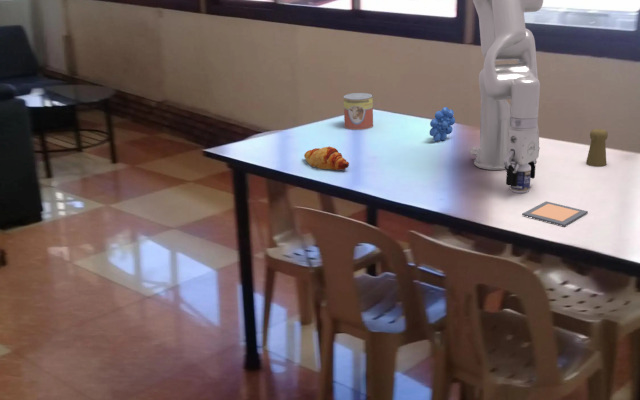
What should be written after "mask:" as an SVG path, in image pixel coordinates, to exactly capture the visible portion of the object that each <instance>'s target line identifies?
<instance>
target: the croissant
mask: <svg viewBox="0 0 640 400" xmlns="http://www.w3.org/2000/svg"><path fill="white" fill-rule="evenodd" d="M303 156H304V159H305V161H306V162H307V164H308V165H310V166H311V167H313V168H316V167H317V169H319V170H330V169H331V170H333V171H342V170H345V169H347V168H349V166H350V162H349V161H347V159H345V158H344V157H343V155H342V153H341V152H339V150H338V149H337V148H335V147H332V146H324V147H320V148H319V147H318V148H312V149H309V150H307V151H305V153H304V154H303Z"/></svg>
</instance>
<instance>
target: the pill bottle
mask: <svg viewBox="0 0 640 400" xmlns="http://www.w3.org/2000/svg"><path fill="white" fill-rule="evenodd" d="M514 162H516V161H514ZM514 166H515V165H512V167H513V168H514ZM516 173H518V178H517V186H516V187H514V186H510V191H512V193H513V192H514V193H517V194H518V193H519V194H520V193H521V194H522V193H523V194H524V193H528V192H530V190H531V179H532V178H531V166H530V165H529V164H528V163H527V164H525V165H519V167H518V169H517V172H516Z"/></svg>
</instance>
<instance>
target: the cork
mask: <svg viewBox="0 0 640 400" xmlns="http://www.w3.org/2000/svg"><path fill="white" fill-rule="evenodd" d="M608 137H609V135H608V131H607V130H606V129H604V128H603V129H602V128H594V129H592V130H591V131H590V133H589V138H590V140H591V141H590V144H589V148H588V149H589V150H588V154H587V157H586V162H585V164H586V165H587V166H590V167H598V168H599V167H605V166H607V147H606V144H607V143H606V140H607V139H608Z"/></svg>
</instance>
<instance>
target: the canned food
mask: <svg viewBox="0 0 640 400" xmlns="http://www.w3.org/2000/svg"><path fill="white" fill-rule="evenodd" d="M342 98H343V115H344V116H343V117H344V118H343V119H344V122H343V123H344V128H345V129H346V130H351V131H364V130H368V129H372V128H374V111H373V110H374V105H373V104H374V103H373V100H374V99H373V94H371V93H366V92H353V93H346V94H345V95H343V97H342Z"/></svg>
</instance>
